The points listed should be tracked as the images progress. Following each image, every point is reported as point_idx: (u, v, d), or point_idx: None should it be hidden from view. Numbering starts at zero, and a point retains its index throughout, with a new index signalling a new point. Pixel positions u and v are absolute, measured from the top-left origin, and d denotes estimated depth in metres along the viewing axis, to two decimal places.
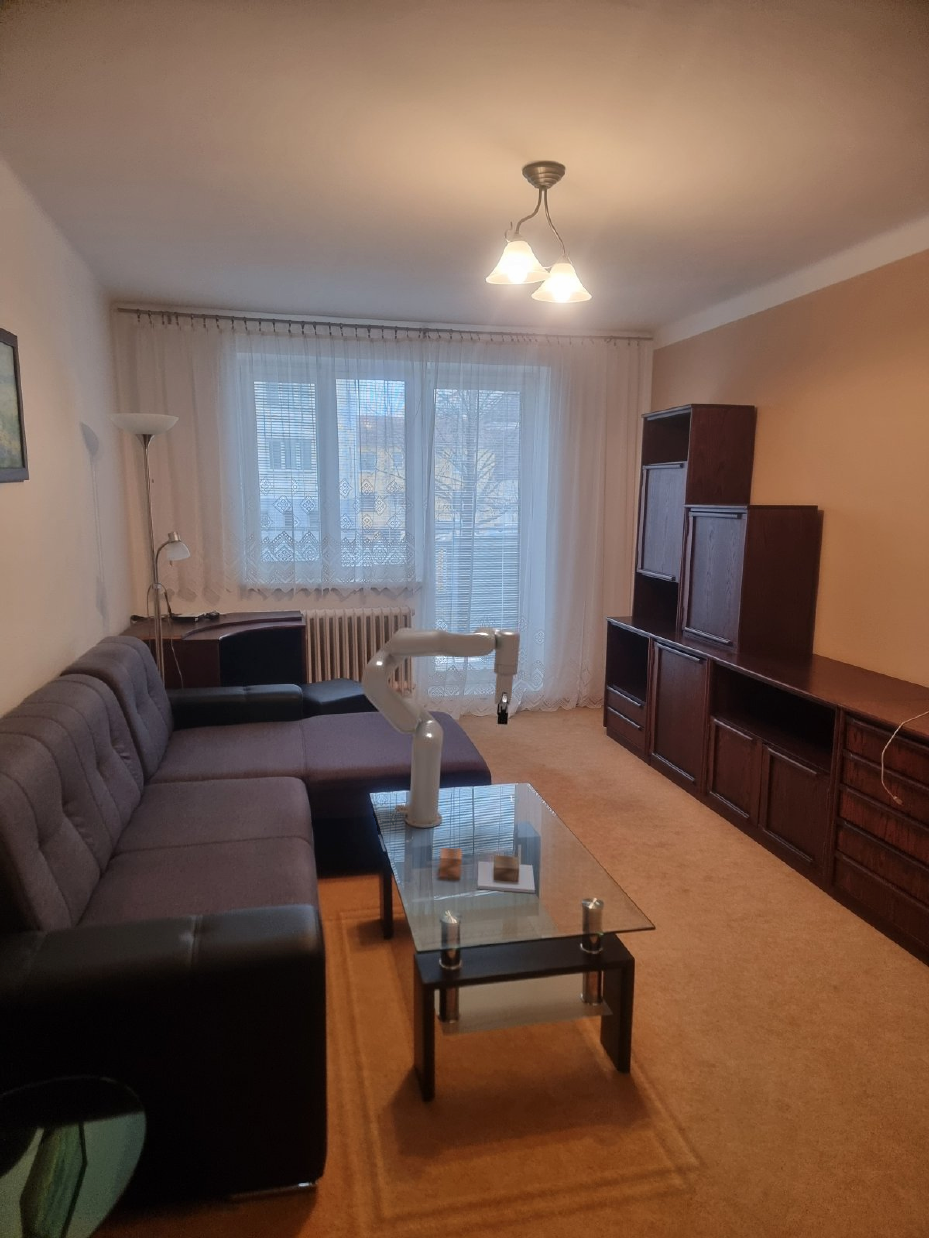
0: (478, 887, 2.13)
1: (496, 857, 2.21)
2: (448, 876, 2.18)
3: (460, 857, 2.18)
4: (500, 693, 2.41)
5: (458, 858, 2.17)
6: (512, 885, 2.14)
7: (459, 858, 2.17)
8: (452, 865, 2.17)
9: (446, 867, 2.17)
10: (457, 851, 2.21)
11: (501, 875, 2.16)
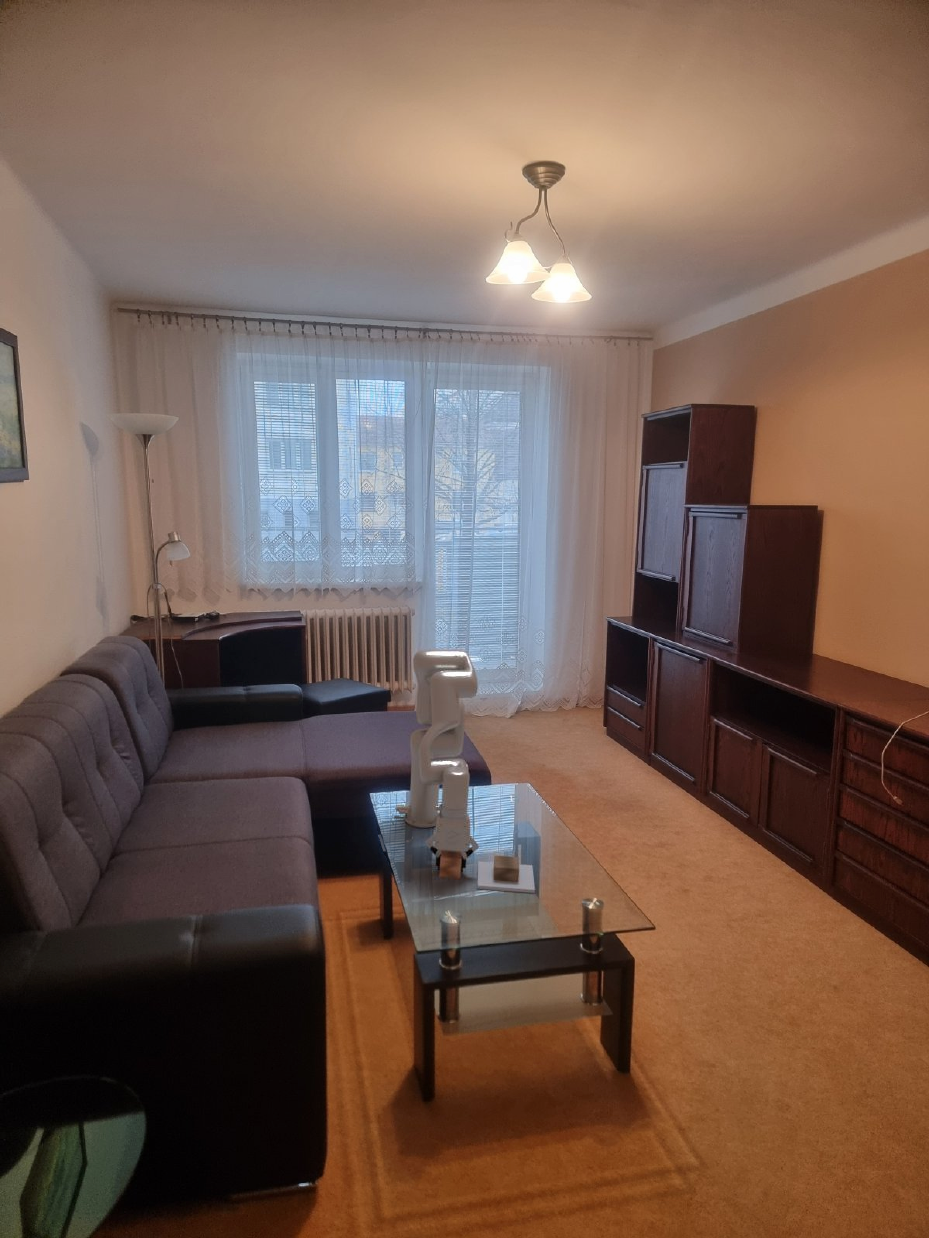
0: (478, 887, 2.13)
1: (496, 857, 2.21)
2: (448, 876, 2.18)
3: (460, 857, 2.17)
4: (470, 836, 2.17)
5: (458, 857, 2.17)
6: (512, 885, 2.14)
7: (459, 857, 2.17)
8: (452, 864, 2.17)
9: (446, 867, 2.17)
10: None
11: (501, 875, 2.16)
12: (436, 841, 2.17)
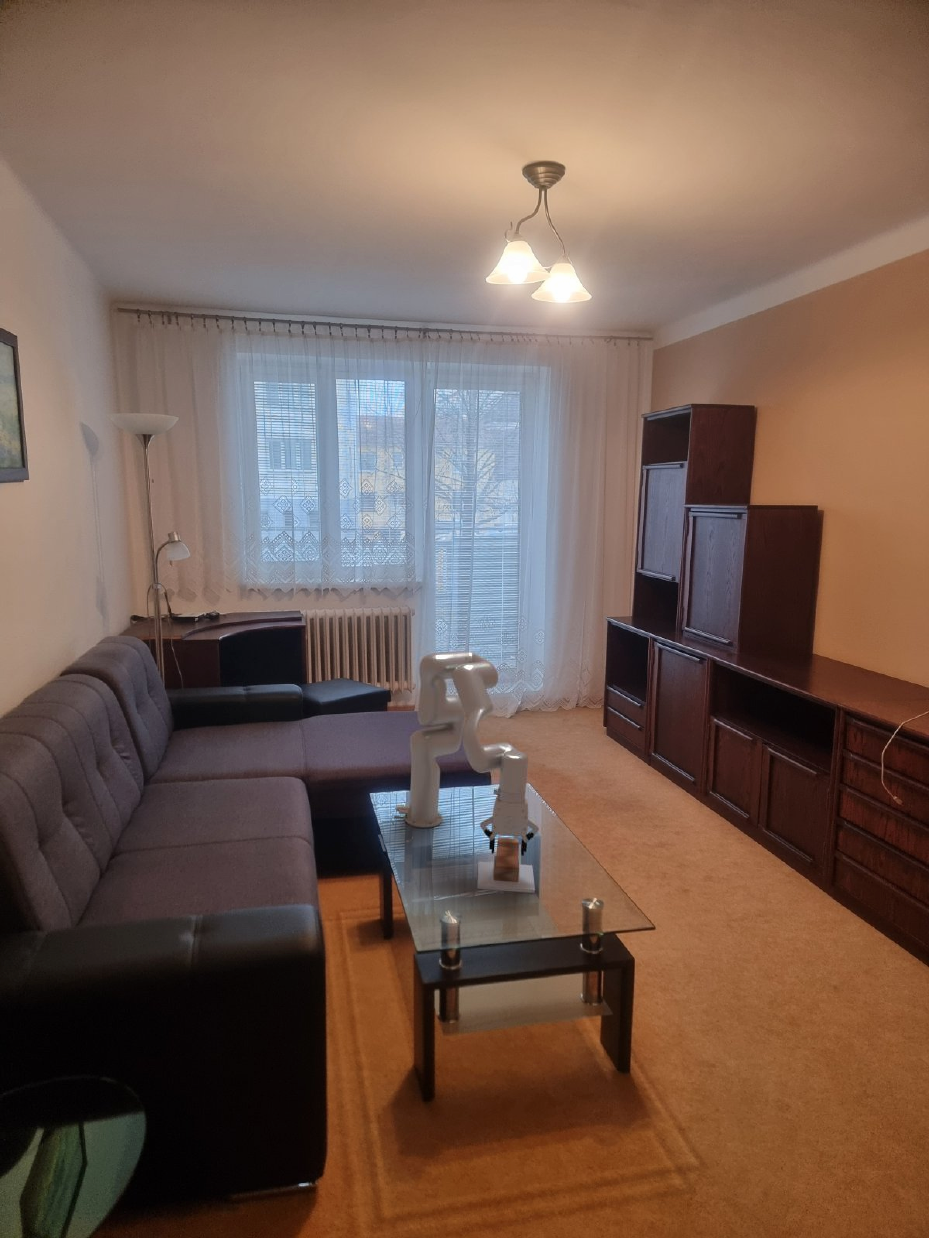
0: (478, 887, 2.13)
1: None
2: (505, 865, 2.16)
3: (518, 846, 2.15)
4: (528, 821, 2.15)
5: (516, 847, 2.15)
6: (512, 885, 2.14)
7: (516, 847, 2.15)
8: (510, 854, 2.15)
9: (503, 856, 2.15)
10: (514, 840, 2.19)
11: (501, 875, 2.16)
12: (494, 825, 2.14)
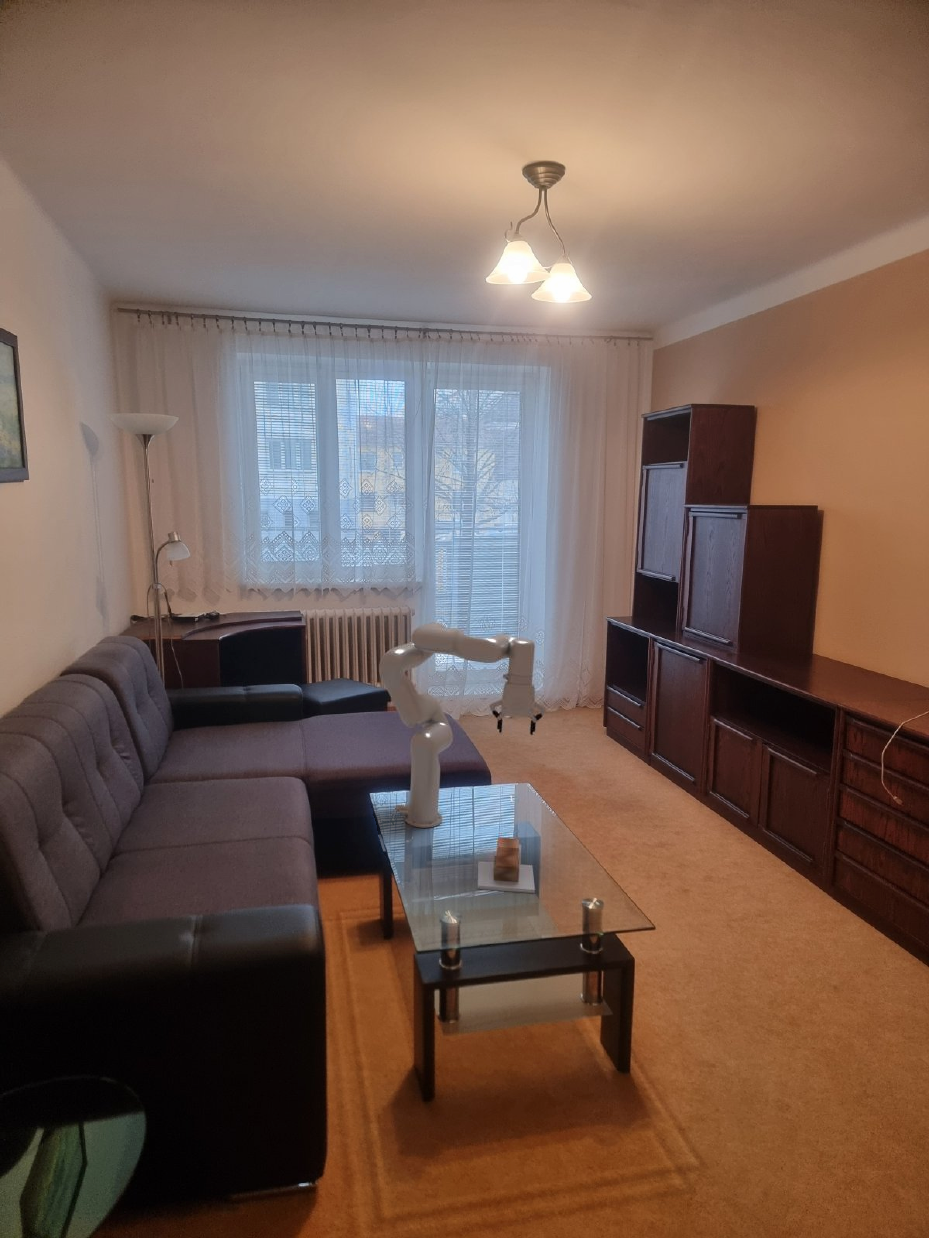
0: (478, 887, 2.13)
1: None
2: (505, 865, 2.16)
3: (518, 846, 2.15)
4: (534, 703, 2.33)
5: (516, 847, 2.15)
6: (512, 885, 2.14)
7: (516, 847, 2.15)
8: (510, 854, 2.15)
9: (503, 856, 2.15)
10: (514, 840, 2.19)
11: (501, 875, 2.16)
12: (503, 707, 2.32)
